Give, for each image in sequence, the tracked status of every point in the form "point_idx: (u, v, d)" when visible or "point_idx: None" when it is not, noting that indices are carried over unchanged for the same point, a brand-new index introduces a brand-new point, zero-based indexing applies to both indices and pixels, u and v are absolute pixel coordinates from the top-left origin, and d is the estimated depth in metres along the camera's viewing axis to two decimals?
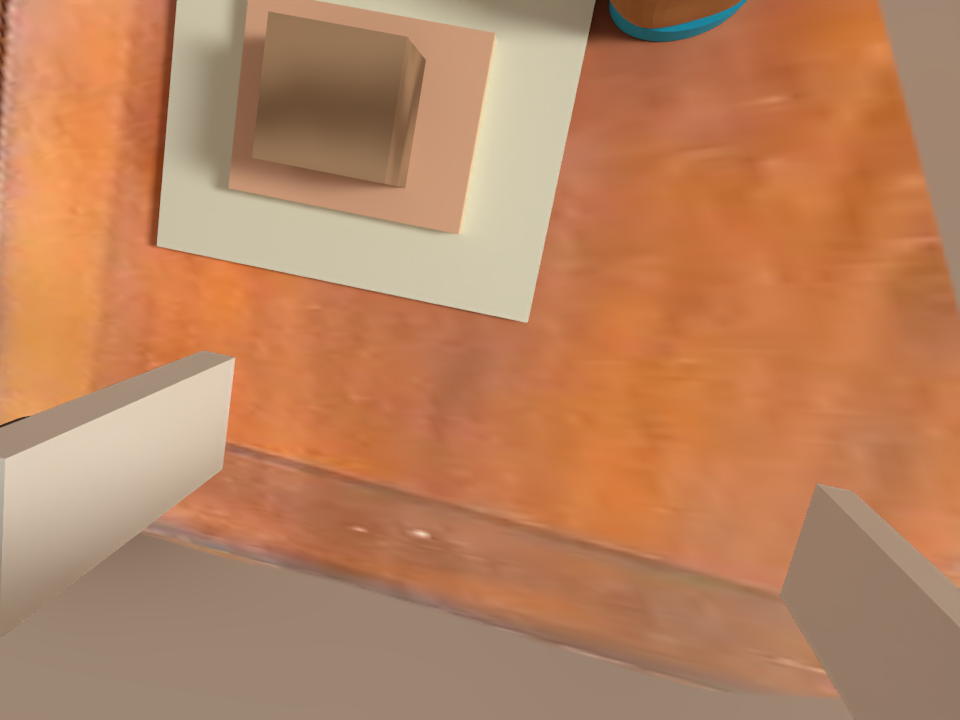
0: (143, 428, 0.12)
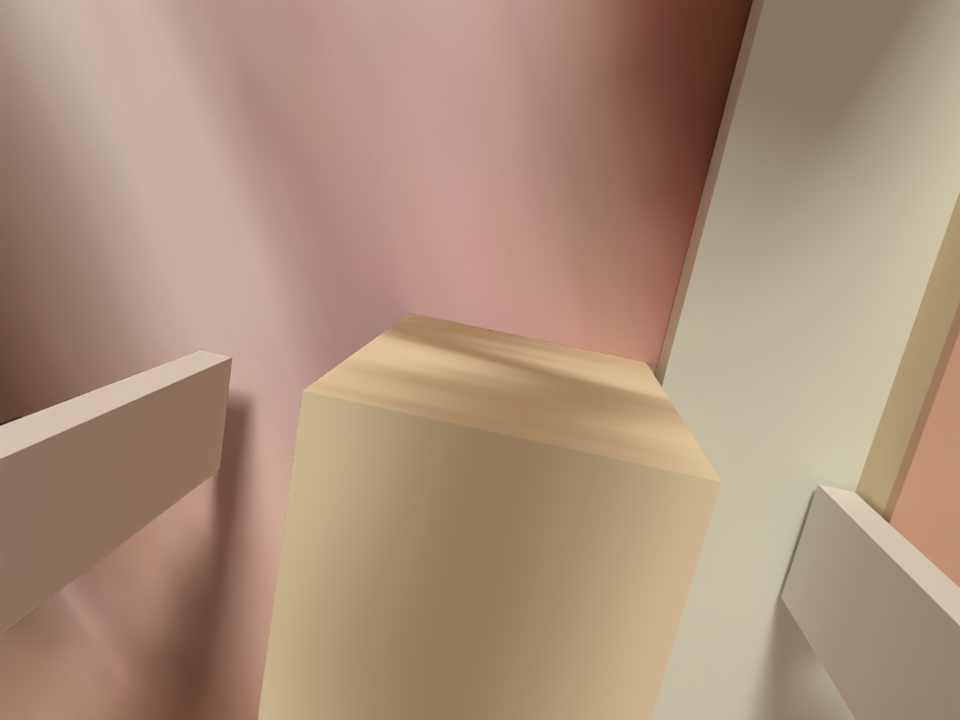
0: (140, 428, 0.12)
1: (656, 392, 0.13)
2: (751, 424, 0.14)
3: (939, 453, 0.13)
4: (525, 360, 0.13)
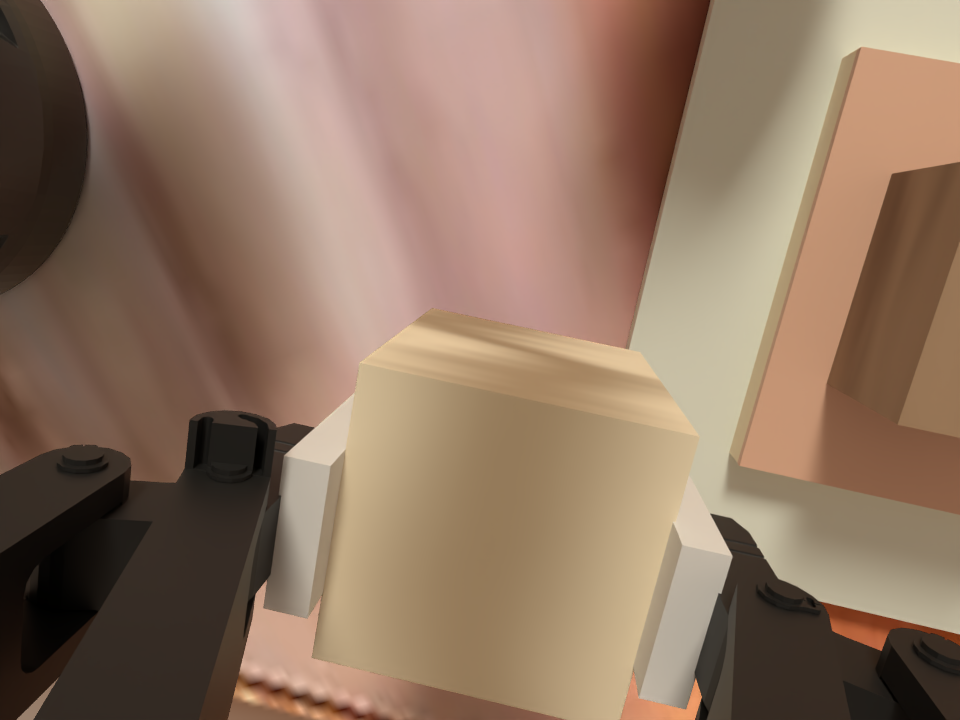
0: None
1: (648, 374, 0.15)
2: (684, 358, 0.25)
3: (780, 368, 0.23)
4: (535, 347, 0.15)
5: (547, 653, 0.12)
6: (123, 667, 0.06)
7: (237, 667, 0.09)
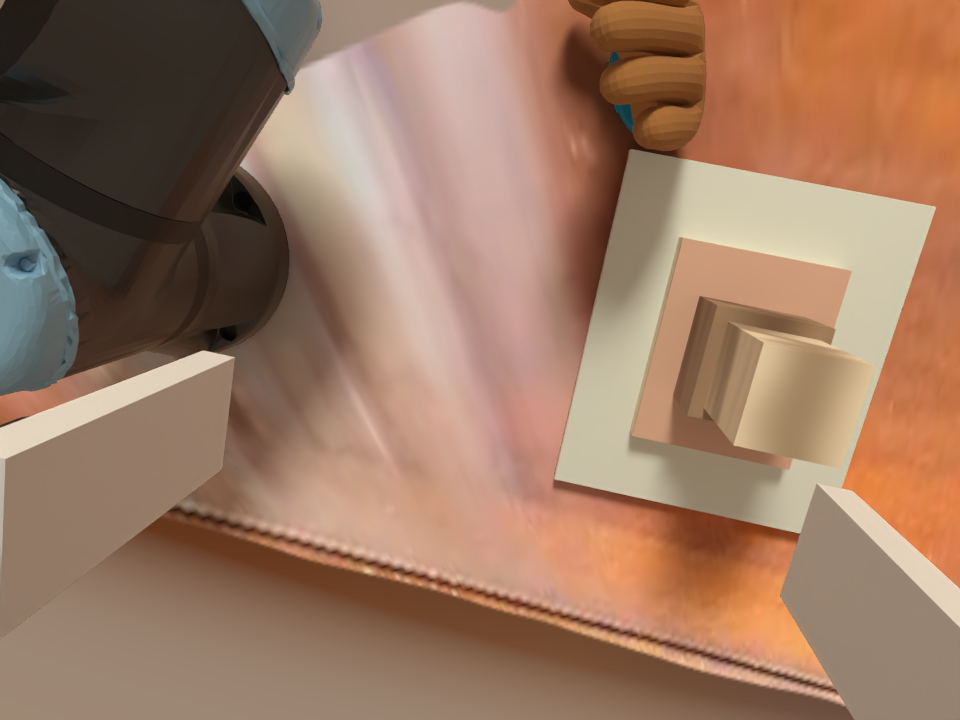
0: (143, 428, 0.12)
1: (837, 348, 0.37)
2: (606, 381, 0.49)
3: (651, 387, 0.47)
4: (789, 338, 0.38)
5: (818, 441, 0.34)
6: None
7: None
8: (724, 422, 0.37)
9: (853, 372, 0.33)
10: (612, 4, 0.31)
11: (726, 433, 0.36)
